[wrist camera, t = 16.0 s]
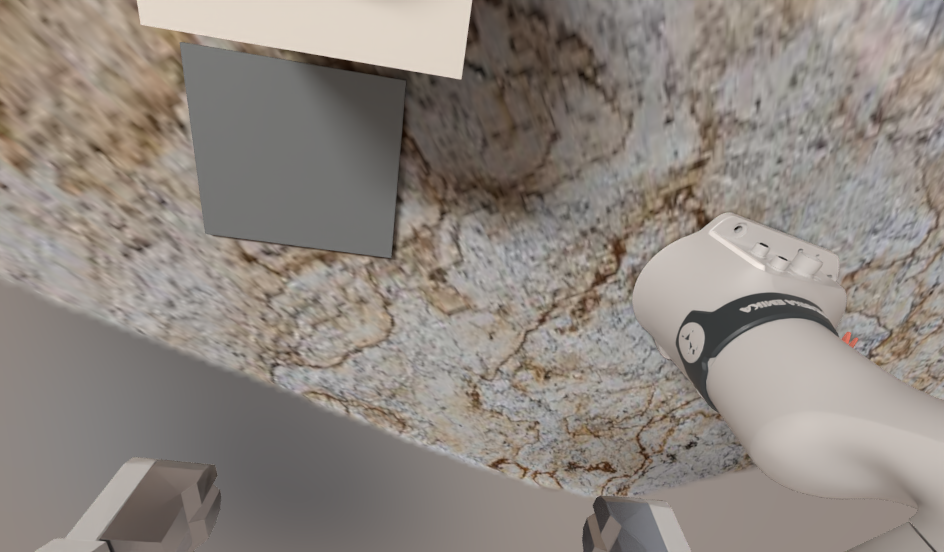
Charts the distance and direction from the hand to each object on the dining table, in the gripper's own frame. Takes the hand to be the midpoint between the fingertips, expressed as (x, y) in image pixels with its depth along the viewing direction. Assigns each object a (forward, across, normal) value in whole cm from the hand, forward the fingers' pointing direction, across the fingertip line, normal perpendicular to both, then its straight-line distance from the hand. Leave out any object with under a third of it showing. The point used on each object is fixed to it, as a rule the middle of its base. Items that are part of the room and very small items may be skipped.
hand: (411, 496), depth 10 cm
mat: (+37, -14, -4) cm, 40 cm away
